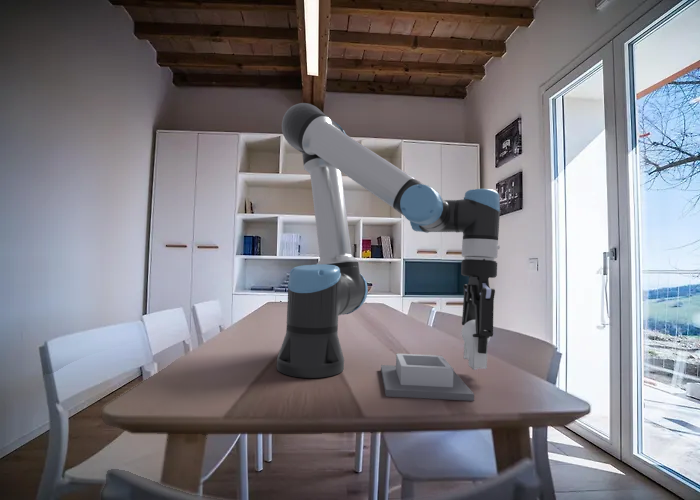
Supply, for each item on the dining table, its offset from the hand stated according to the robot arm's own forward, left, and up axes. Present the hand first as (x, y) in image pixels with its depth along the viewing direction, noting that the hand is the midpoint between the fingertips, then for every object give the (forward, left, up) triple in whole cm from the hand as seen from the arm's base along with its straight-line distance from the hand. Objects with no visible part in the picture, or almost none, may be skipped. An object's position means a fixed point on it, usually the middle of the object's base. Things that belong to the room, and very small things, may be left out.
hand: (474, 363), depth 78 cm
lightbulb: (0, 0, -2) cm, 2 cm away
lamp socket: (-13, -6, -3) cm, 14 cm away
